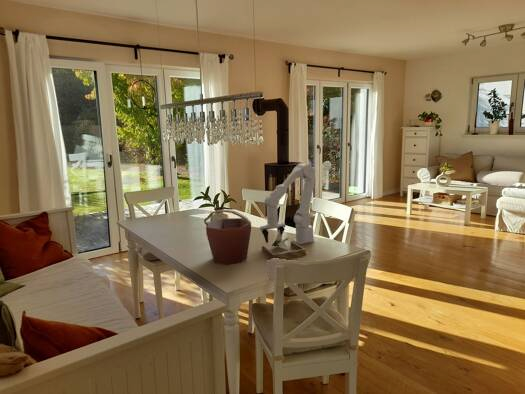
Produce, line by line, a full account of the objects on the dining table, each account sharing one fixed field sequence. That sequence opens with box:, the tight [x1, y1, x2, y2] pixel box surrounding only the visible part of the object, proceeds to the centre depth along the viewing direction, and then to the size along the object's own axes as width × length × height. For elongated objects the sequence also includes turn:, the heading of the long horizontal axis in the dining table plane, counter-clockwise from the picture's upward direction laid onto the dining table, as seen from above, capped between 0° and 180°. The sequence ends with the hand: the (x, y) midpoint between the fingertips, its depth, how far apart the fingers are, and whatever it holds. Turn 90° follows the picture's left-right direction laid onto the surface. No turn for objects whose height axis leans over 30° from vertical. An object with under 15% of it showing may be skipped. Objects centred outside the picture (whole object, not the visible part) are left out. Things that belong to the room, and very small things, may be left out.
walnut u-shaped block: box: [261, 240, 307, 260], centre depth 194 cm, size 18×15×3 cm
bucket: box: [203, 209, 252, 266], centre depth 188 cm, size 24×22×25 cm
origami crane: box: [271, 230, 290, 252], centre depth 201 cm, size 11×10×10 cm
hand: (273, 241), depth 205 cm, fingers open, 7 cm apart
